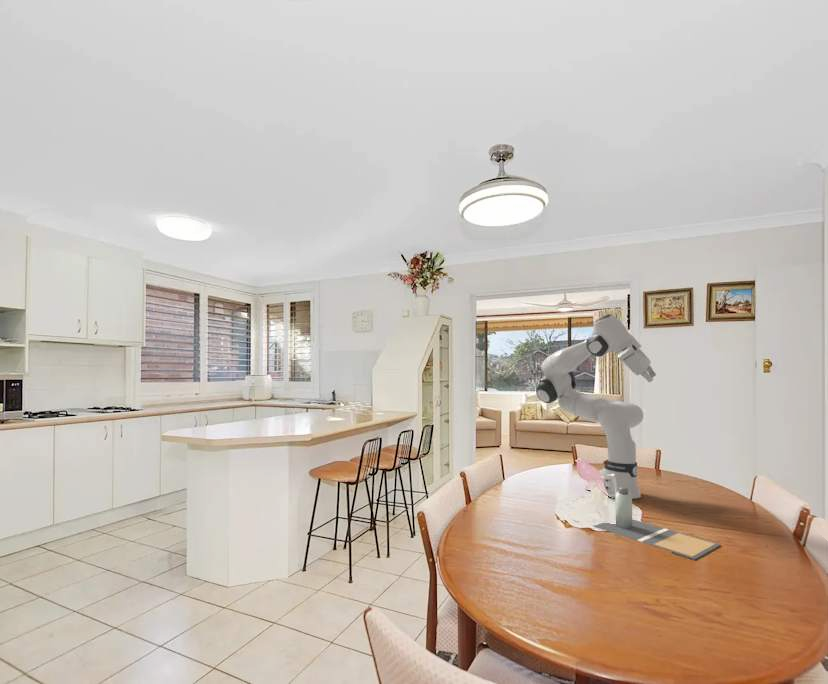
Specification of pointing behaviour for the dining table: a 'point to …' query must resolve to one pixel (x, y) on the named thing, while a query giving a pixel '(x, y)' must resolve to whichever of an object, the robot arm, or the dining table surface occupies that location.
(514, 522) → the dining table surface
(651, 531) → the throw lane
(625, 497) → the bottle
